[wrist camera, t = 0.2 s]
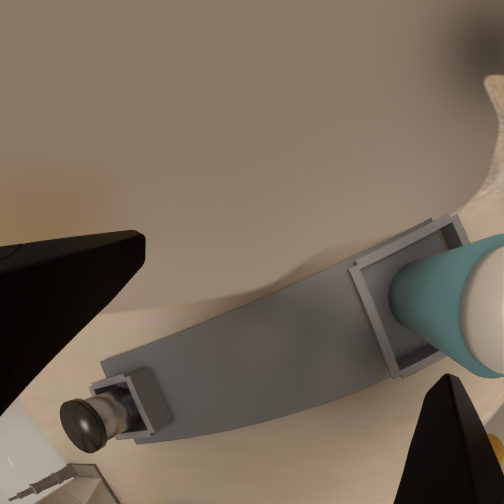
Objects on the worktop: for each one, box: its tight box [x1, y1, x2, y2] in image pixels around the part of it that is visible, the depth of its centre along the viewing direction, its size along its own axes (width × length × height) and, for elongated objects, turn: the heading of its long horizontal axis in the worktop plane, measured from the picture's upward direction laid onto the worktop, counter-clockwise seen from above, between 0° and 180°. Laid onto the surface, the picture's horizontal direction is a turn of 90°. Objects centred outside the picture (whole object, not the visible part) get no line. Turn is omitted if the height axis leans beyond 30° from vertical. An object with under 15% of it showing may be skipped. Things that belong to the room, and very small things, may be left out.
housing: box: [89, 214, 470, 444], centre depth 20 cm, size 32×9×4 cm, turn 114°
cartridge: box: [388, 234, 504, 379], centre depth 12 cm, size 5×5×13 cm
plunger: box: [60, 387, 142, 453], centre depth 19 cm, size 4×4×6 cm
